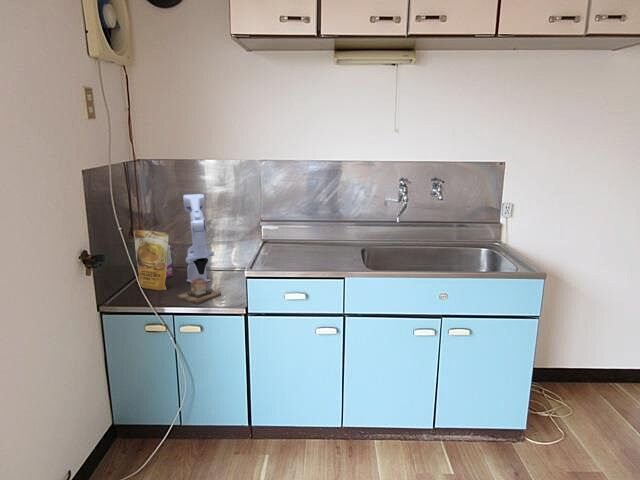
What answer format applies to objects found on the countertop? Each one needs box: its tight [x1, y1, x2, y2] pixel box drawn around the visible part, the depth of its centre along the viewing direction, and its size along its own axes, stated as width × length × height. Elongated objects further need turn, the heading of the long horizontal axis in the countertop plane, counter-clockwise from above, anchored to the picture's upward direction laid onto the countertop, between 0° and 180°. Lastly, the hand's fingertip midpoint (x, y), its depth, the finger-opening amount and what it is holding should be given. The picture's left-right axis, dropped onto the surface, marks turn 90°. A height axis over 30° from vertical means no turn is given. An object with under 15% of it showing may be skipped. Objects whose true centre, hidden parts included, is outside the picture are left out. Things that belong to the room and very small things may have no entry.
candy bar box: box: [166, 245, 174, 279], centre depth 243 cm, size 11×5×16 cm, turn 148°
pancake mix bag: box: [132, 229, 170, 291], centre depth 228 cm, size 7×19×28 cm, turn 69°
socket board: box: [176, 288, 222, 305], centre depth 219 cm, size 14×14×2 cm
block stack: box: [190, 278, 207, 295], centre depth 218 cm, size 4×4×7 cm
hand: (201, 273), depth 219 cm, fingers closed
